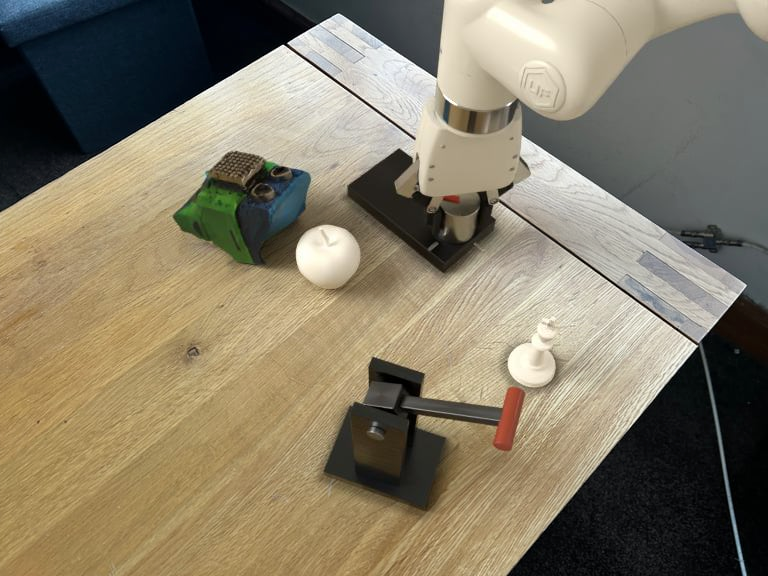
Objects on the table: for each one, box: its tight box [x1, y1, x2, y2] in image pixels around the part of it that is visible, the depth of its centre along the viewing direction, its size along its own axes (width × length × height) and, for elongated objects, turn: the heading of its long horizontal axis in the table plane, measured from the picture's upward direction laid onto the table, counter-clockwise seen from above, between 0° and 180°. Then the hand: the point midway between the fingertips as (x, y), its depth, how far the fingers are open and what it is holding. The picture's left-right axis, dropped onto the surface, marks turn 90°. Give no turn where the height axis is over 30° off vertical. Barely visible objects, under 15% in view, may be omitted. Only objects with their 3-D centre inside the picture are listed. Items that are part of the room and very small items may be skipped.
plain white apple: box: [295, 224, 361, 290], centre depth 72 cm, size 7×7×8 cm
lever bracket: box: [322, 356, 447, 511], centre depth 57 cm, size 10×7×16 cm
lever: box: [362, 381, 526, 452], centre depth 50 cm, size 12×4×2 cm, turn 71°
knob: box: [438, 192, 481, 244], centre depth 74 cm, size 5×5×5 cm
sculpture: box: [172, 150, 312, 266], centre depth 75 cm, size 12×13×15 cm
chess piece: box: [507, 315, 561, 388], centre depth 65 cm, size 5×5×10 cm
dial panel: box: [346, 147, 497, 274], centre depth 79 cm, size 18×9×2 cm, turn 45°
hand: (456, 221), depth 75 cm, fingers closed on knob, 4 cm apart
